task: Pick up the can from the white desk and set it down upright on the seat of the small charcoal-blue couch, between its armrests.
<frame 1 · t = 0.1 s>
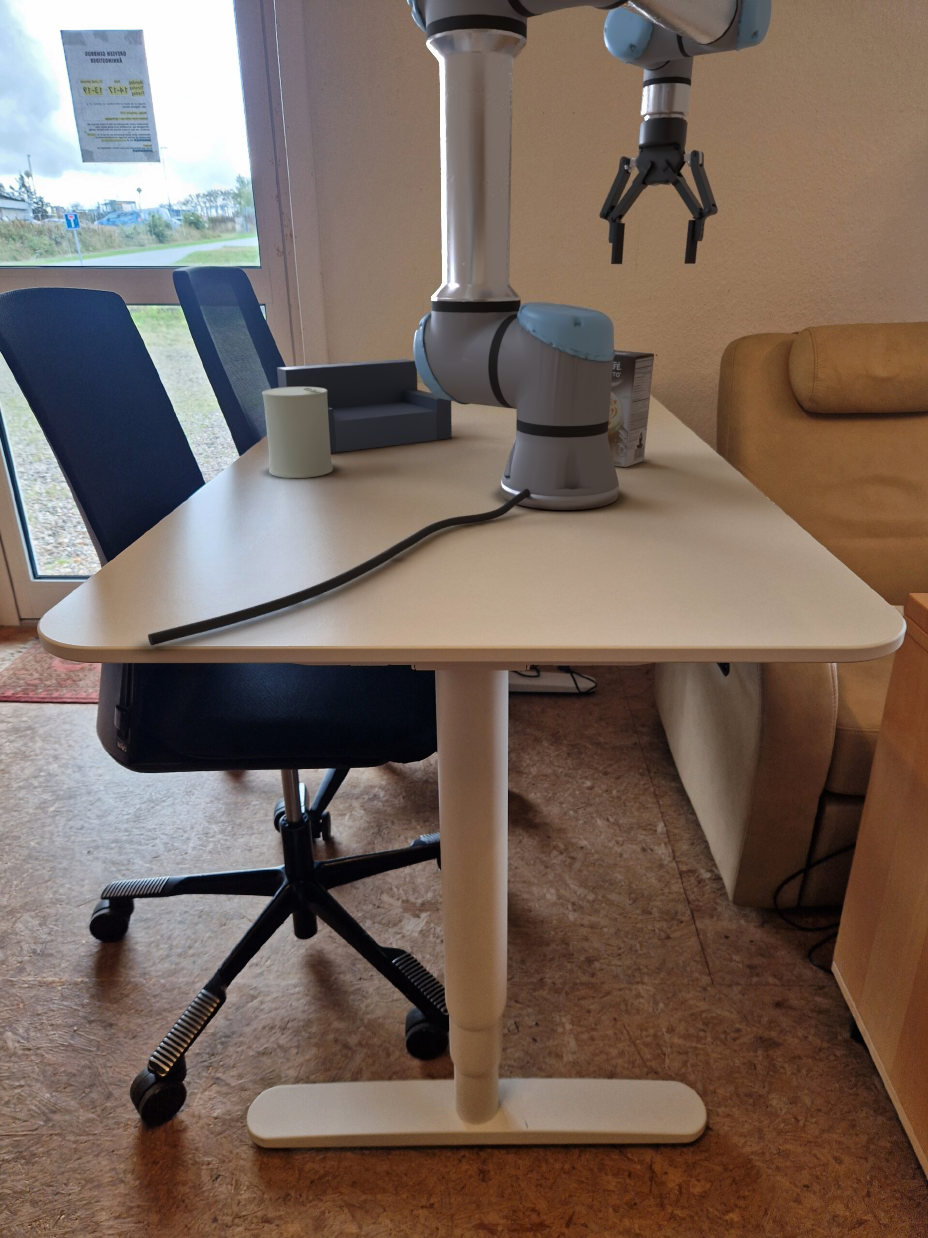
hand: (652, 264, 139), 28 cm above the table, tool pointing down, fingers open, 13 cm apart
couch: (367, 438, 144), on the table
can: (301, 472, 121), on the table
coffee box: (610, 461, 127), on the table
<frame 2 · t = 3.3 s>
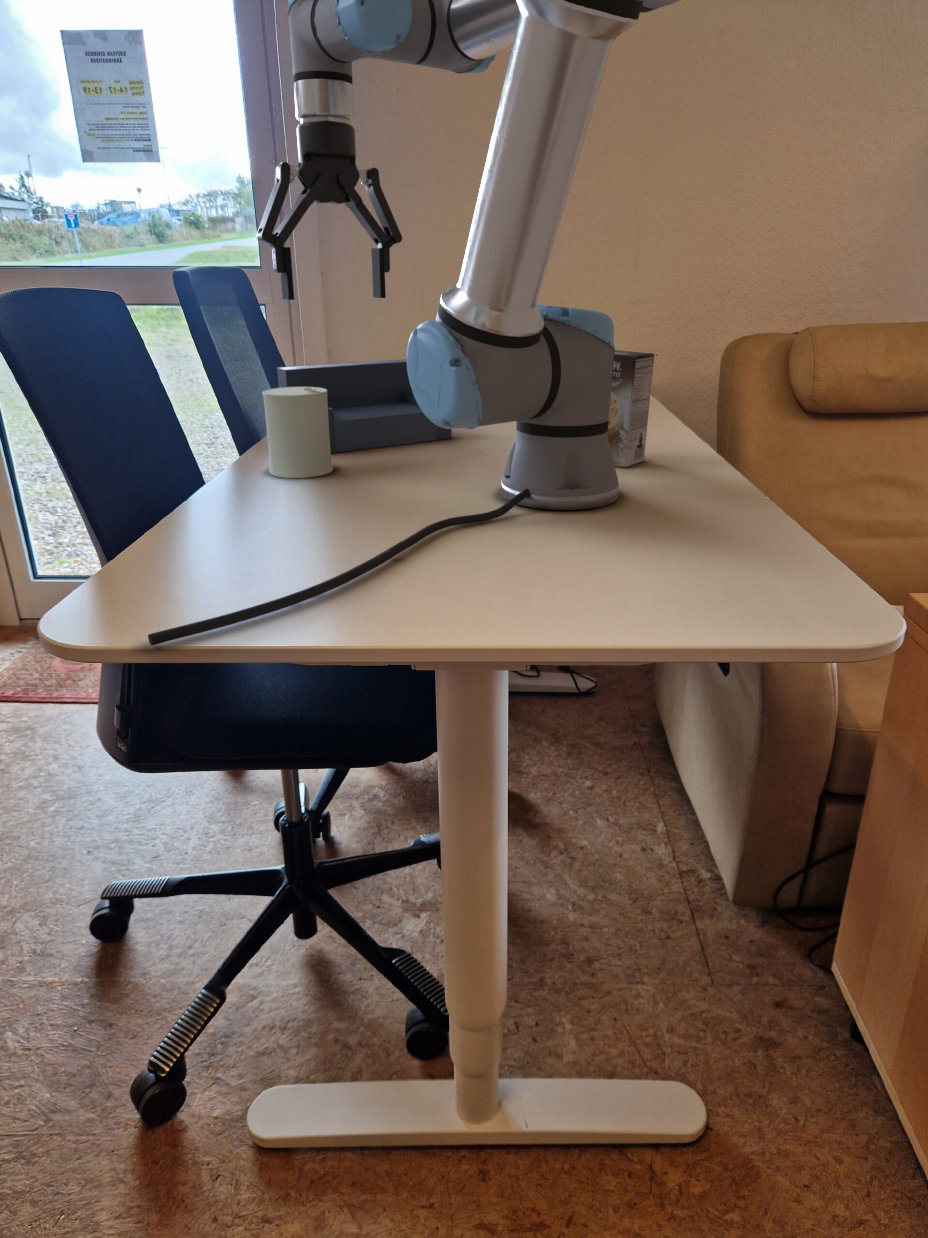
hand: (335, 298, 115), 24 cm above the table, tool pointing down, fingers open, 13 cm apart
nothing on the table moved.
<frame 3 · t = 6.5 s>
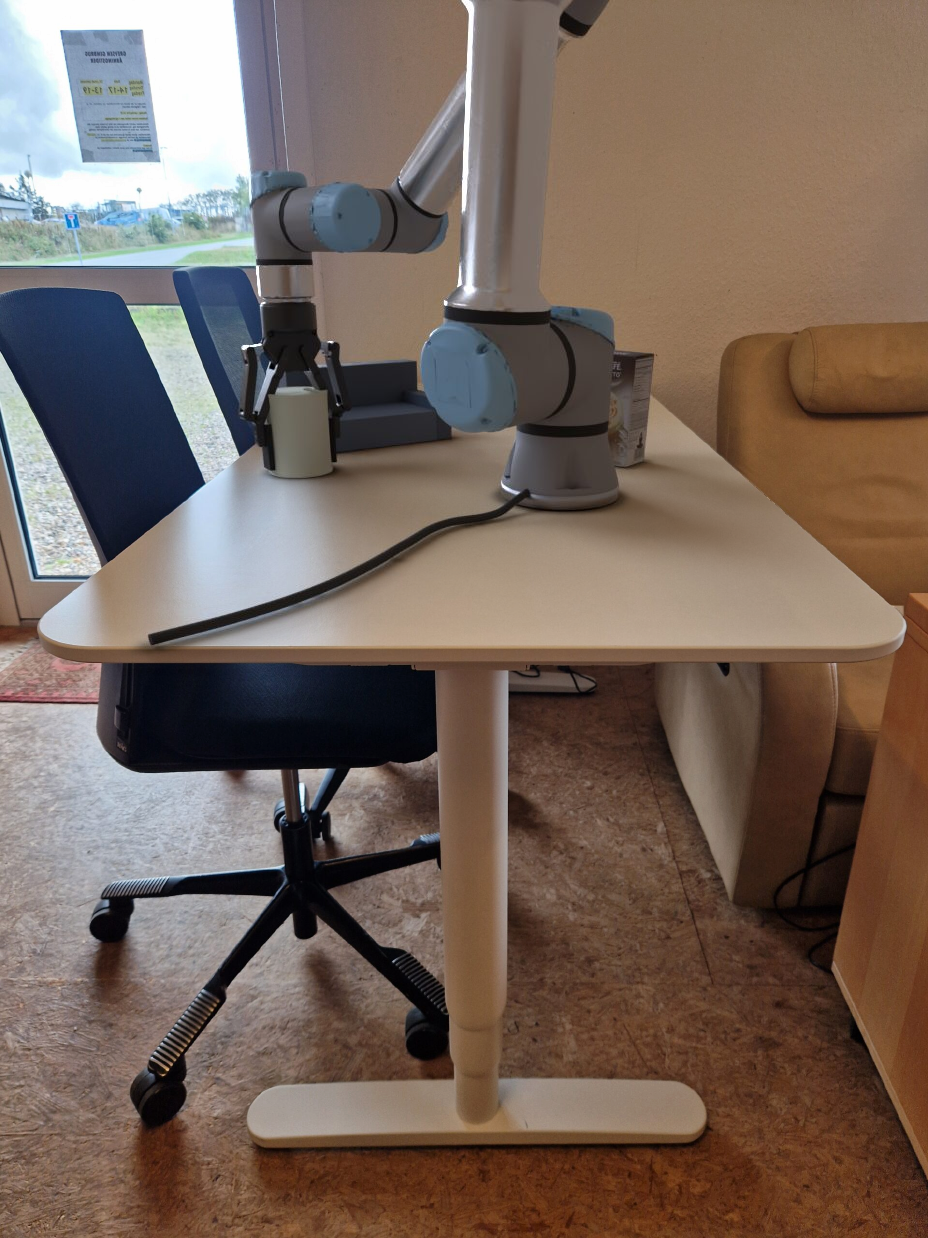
hand: (301, 464, 120), 1 cm above the table, tool pointing down, fingers closed on can, 9 cm apart
can: (301, 472, 121), on the table, touching gripper
everything else where it was.
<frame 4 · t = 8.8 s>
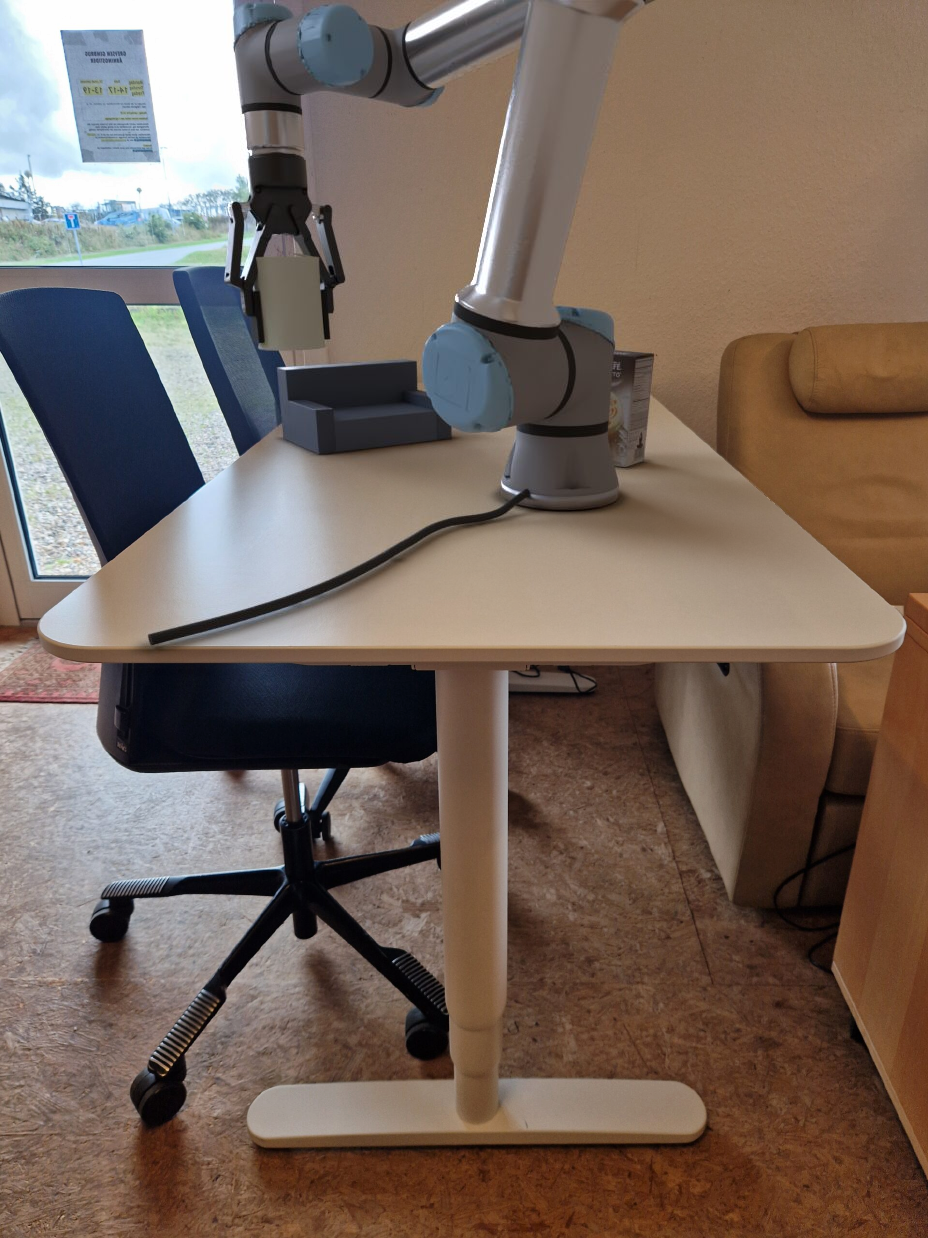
hand: (291, 340, 113), 18 cm above the table, tool pointing down, fingers closed on can, 9 cm apart
can: (292, 349, 114), point 17 cm above the table, touching gripper
everything else where it was.
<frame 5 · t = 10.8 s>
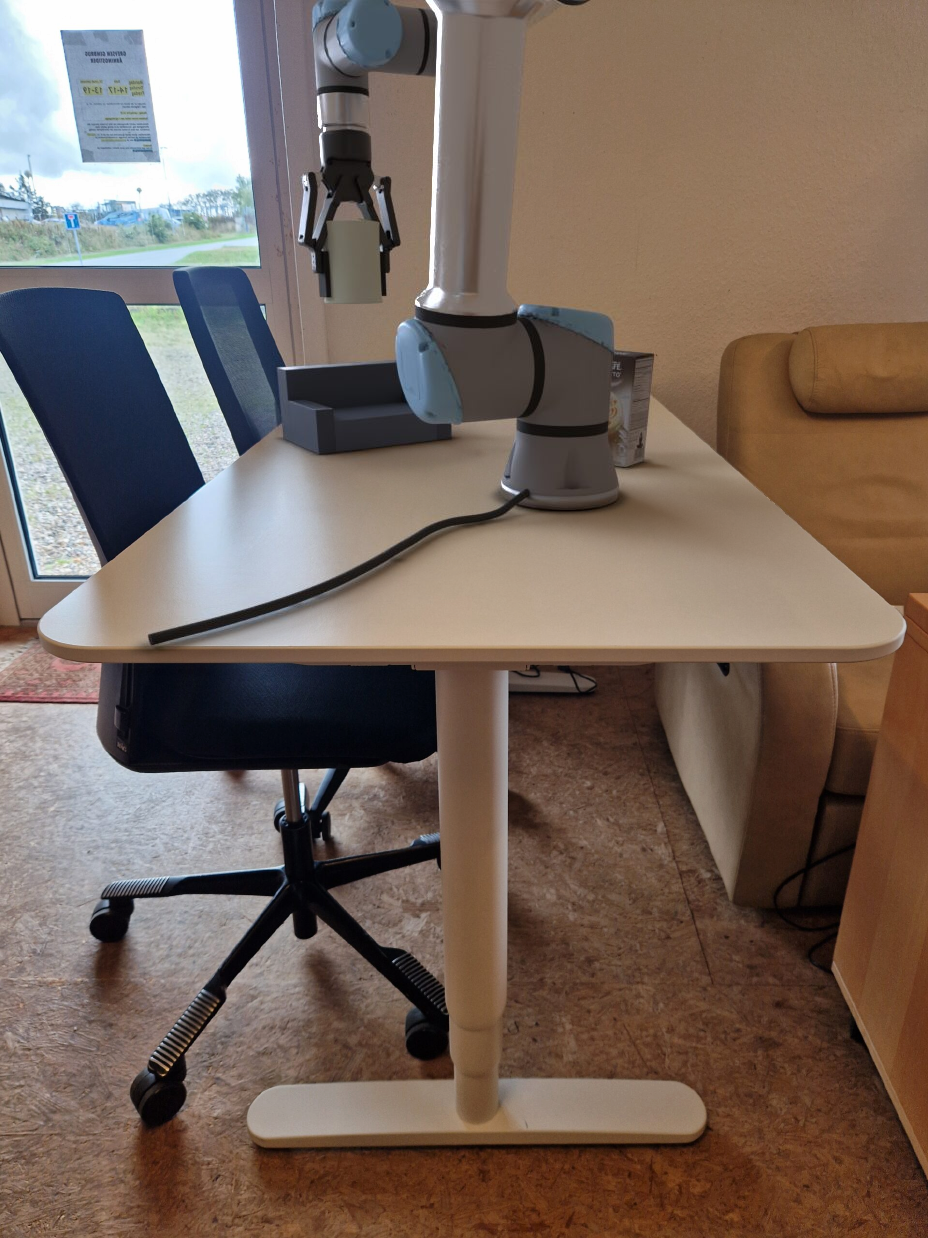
hand: (353, 296, 129), 23 cm above the table, tool pointing down, fingers closed on can, 9 cm apart
can: (353, 303, 129), point 22 cm above the table, touching gripper
everything else where it was.
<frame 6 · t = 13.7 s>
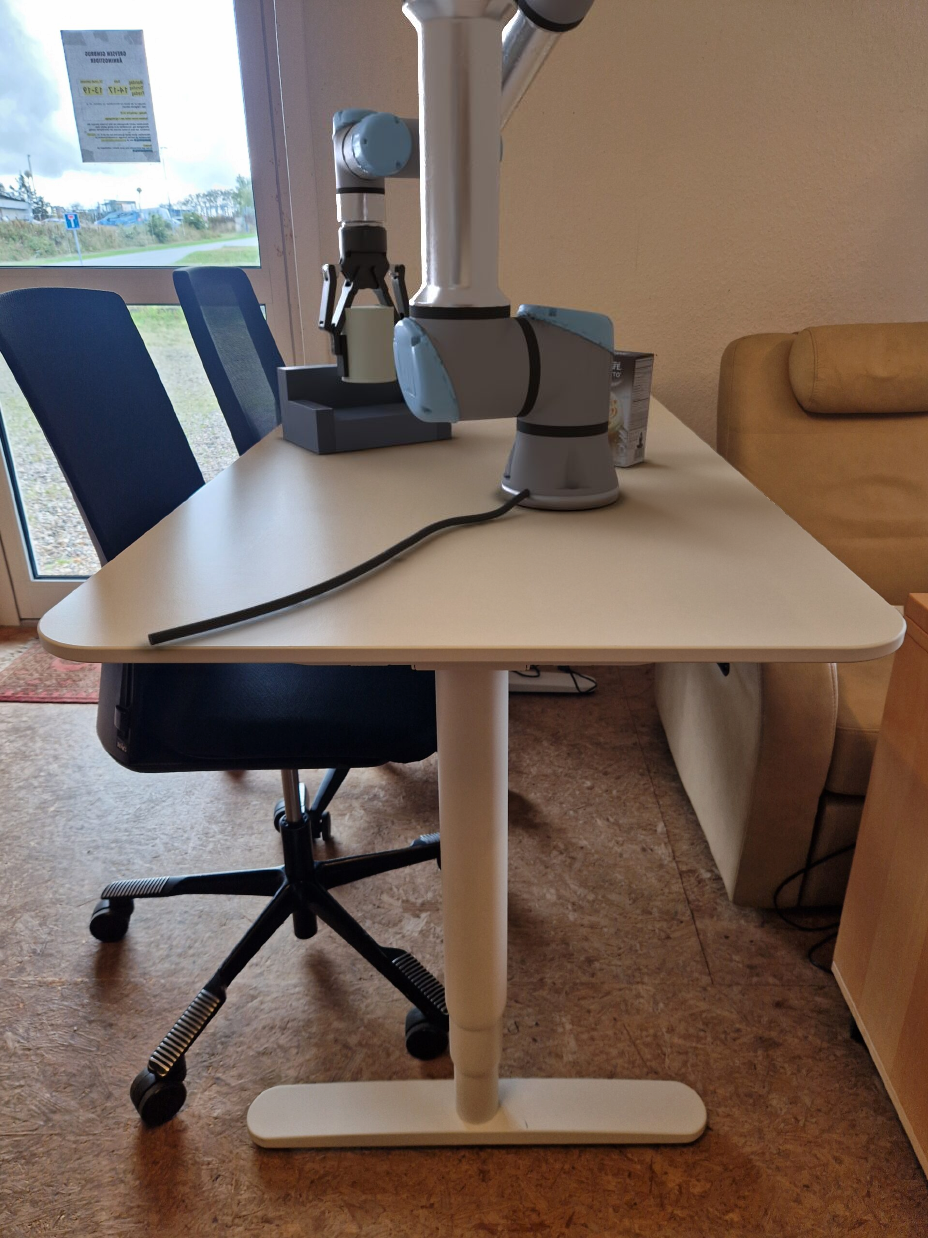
hand: (369, 373, 138), 11 cm above the table, tool pointing down, fingers closed on can, 9 cm apart
can: (369, 380, 138), point 10 cm above the table, touching gripper
everything else where it was.
when the fingers open (6 cm above the table, at t = 15.5 s): can stays where it is, resting on couch.
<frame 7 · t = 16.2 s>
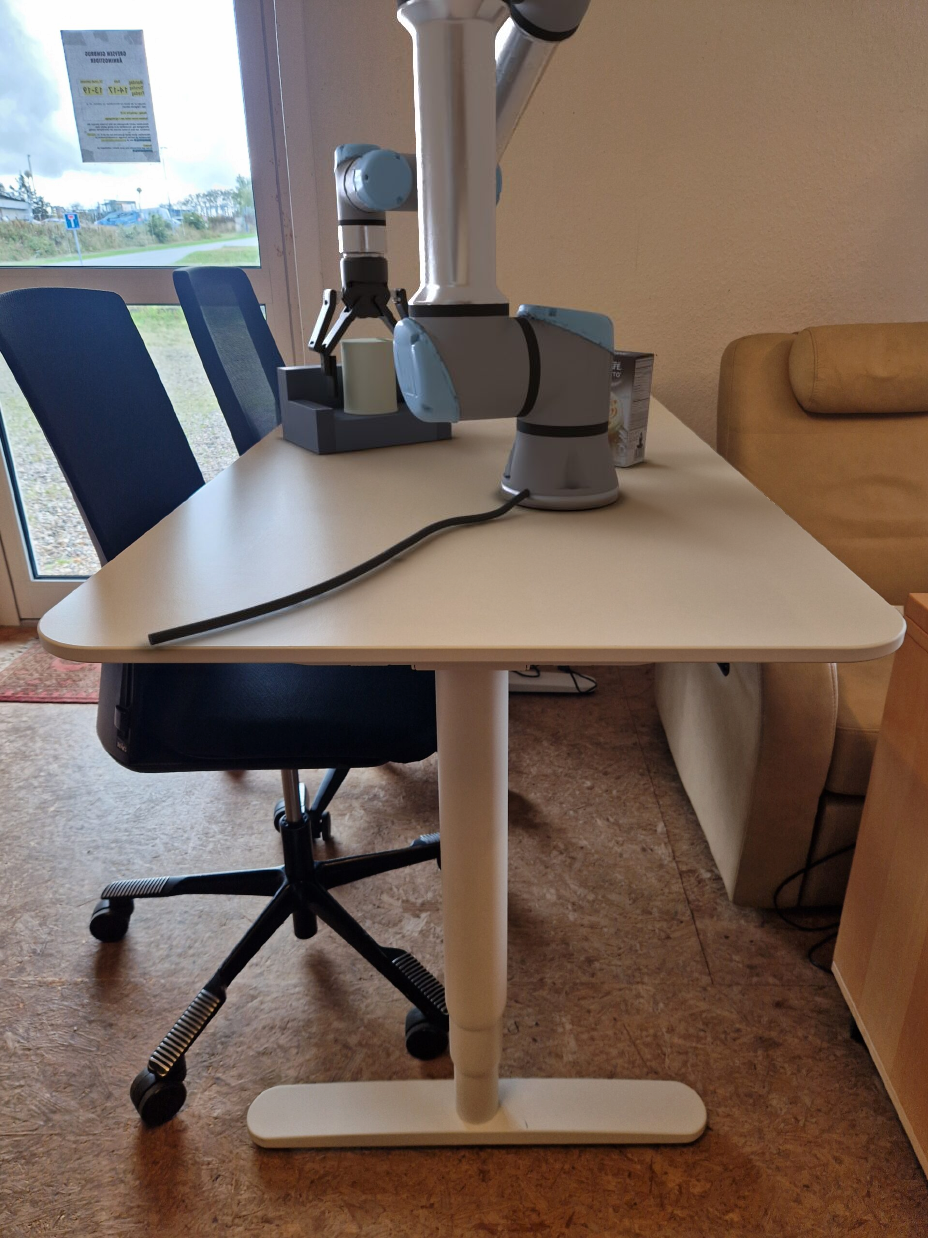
hand: (370, 393, 139), 8 cm above the table, tool pointing down, fingers open, 13 cm apart
can: (371, 411, 140), point 5 cm above the table, touching couch
everything else where it was.
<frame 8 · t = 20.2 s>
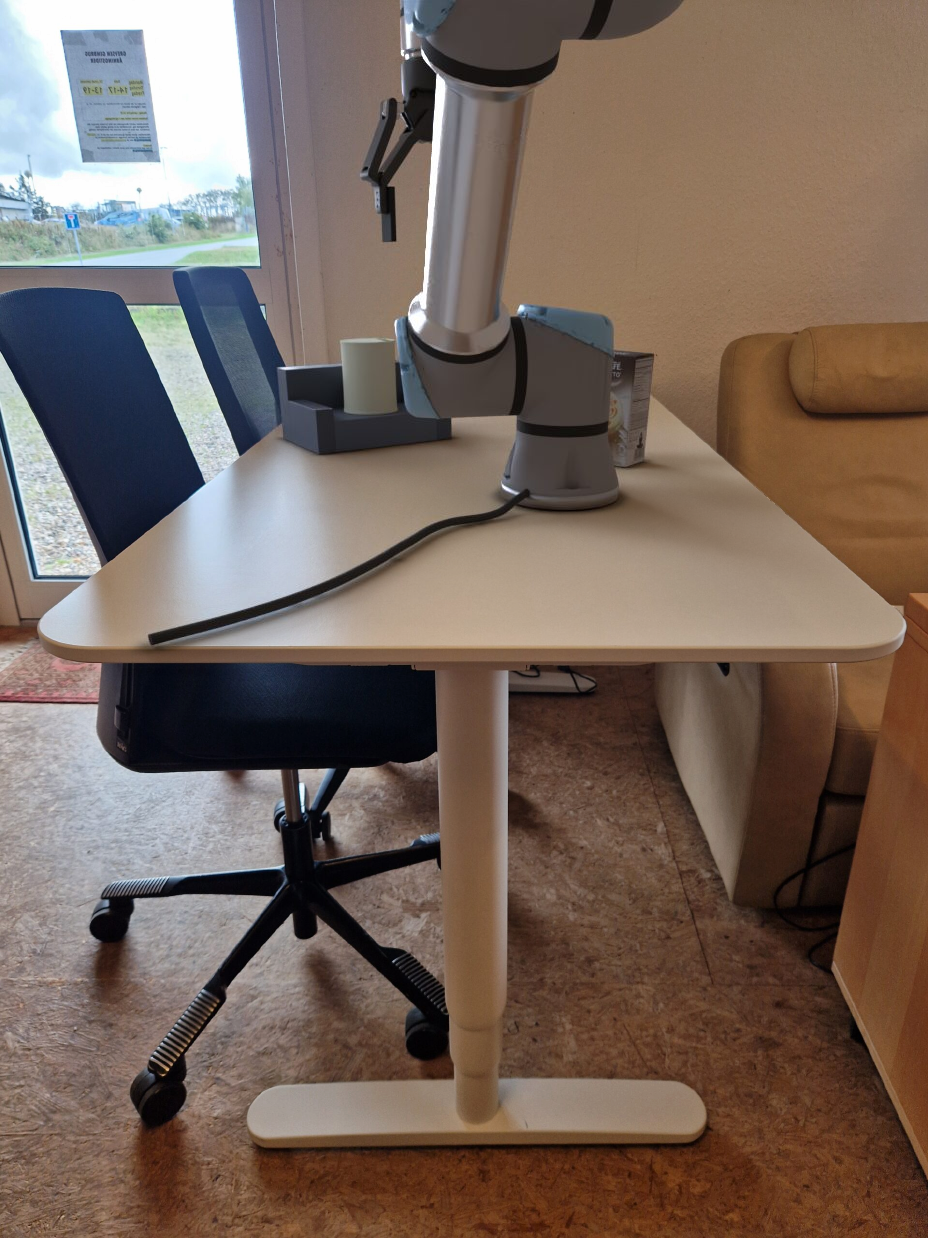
hand: (433, 242, 113), 31 cm above the table, tool pointing down, fingers open, 13 cm apart
nothing on the table moved.
at the end: can inside the target area on the couch (0.4 cm from its centre), point 4.8 cm above the couch's base; can tilted 0°; the gripper is holding nothing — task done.
